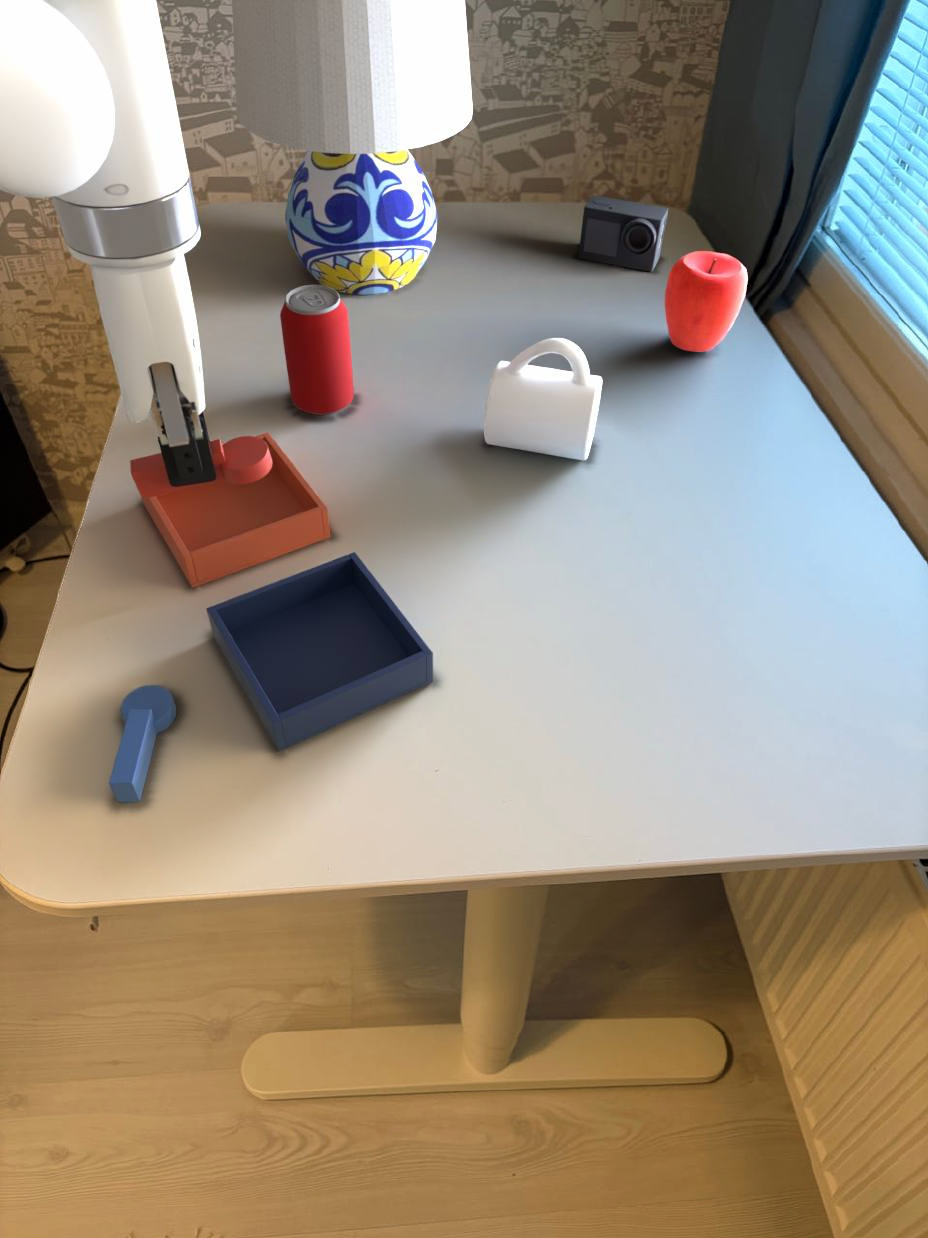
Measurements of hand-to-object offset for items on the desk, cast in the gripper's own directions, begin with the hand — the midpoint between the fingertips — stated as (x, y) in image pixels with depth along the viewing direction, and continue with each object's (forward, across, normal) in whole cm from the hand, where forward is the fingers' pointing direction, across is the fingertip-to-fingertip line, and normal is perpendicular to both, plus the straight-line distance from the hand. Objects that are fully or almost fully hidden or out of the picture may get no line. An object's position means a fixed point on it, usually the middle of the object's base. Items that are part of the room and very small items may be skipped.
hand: (192, 470), depth 65 cm
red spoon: (+1, 0, +1) cm, 1 cm away
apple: (+16, -31, +58) cm, 67 cm away
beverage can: (+16, -30, +13) cm, 36 cm away
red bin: (+16, -12, +2) cm, 20 cm away
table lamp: (+16, -59, +24) cm, 65 cm away
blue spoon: (+15, +12, -7) cm, 21 cm away
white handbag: (+16, -17, +33) cm, 41 cm away
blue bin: (+16, +6, +7) cm, 18 cm away
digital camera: (+16, -54, +57) cm, 80 cm away
